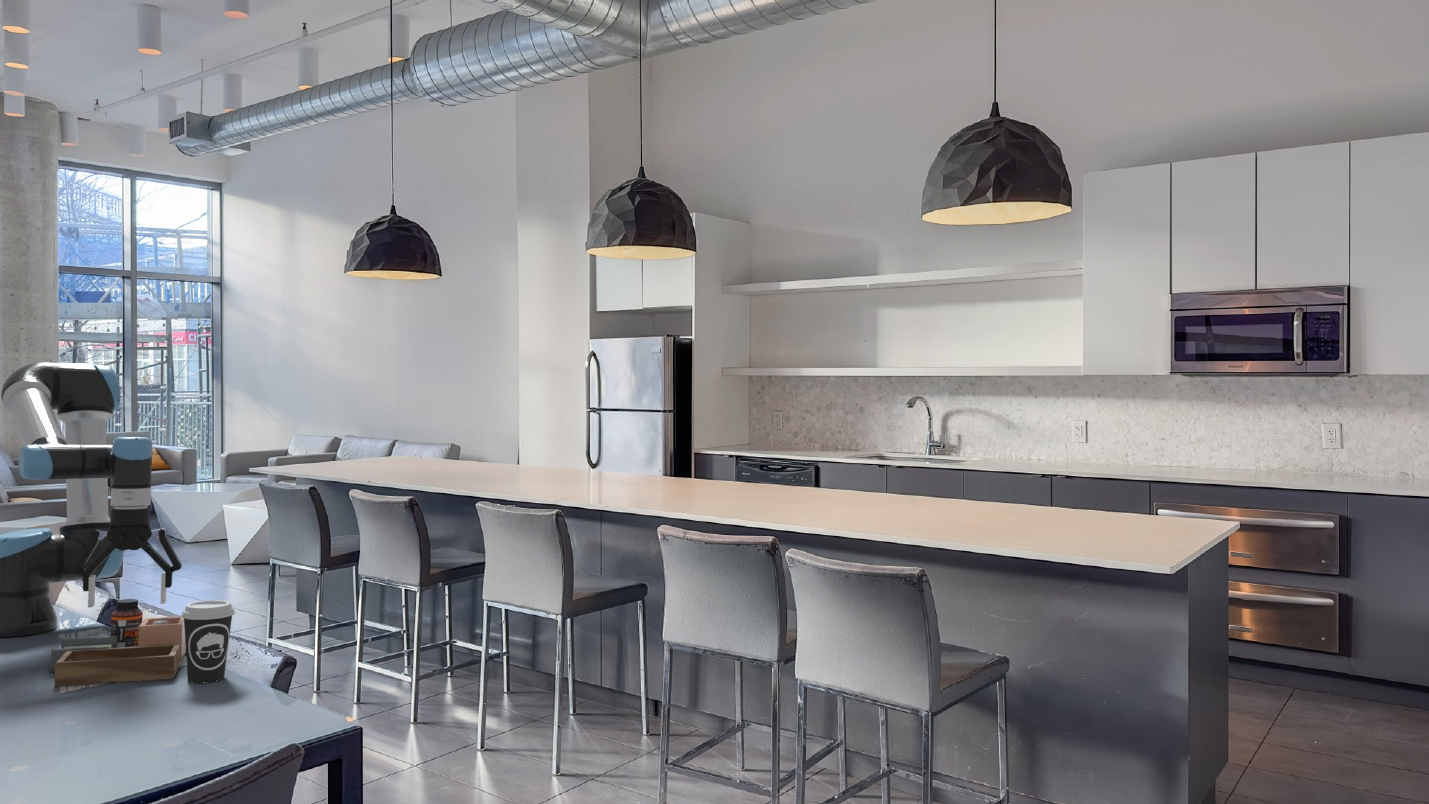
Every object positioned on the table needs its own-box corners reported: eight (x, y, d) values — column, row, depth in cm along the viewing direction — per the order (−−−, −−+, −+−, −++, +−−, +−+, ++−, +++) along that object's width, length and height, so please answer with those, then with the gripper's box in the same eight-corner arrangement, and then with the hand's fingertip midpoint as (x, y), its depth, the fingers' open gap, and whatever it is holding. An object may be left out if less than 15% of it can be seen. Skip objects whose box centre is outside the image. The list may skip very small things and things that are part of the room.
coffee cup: (242, 673, 197) (245, 600, 197) (213, 687, 188) (216, 610, 188) (198, 671, 198) (201, 598, 198) (167, 684, 189) (170, 607, 189)
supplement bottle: (126, 656, 207) (128, 603, 207) (102, 654, 209) (104, 602, 209) (147, 649, 213) (149, 598, 213) (124, 647, 214) (126, 596, 214)
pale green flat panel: (64, 651, 202) (64, 646, 202) (112, 648, 205) (112, 644, 205) (56, 660, 195) (56, 655, 195) (105, 657, 199) (105, 652, 199)
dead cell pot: (143, 655, 209) (144, 618, 209) (185, 652, 212) (186, 616, 212) (137, 664, 201) (139, 626, 201) (181, 661, 205) (182, 624, 205)
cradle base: (61, 660, 203) (62, 638, 203) (116, 656, 207) (117, 635, 207) (50, 672, 194) (50, 650, 194) (107, 669, 198) (108, 647, 198)
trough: (66, 672, 194) (67, 650, 194) (179, 665, 202) (180, 644, 202) (54, 686, 185) (55, 663, 185) (173, 678, 193) (174, 656, 193)
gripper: (59, 509, 203) (55, 611, 202) (193, 507, 212) (190, 604, 212) (67, 506, 210) (64, 604, 209) (196, 504, 219) (194, 598, 219)
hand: (127, 604), depth 211 cm, fingers open, 13 cm apart
